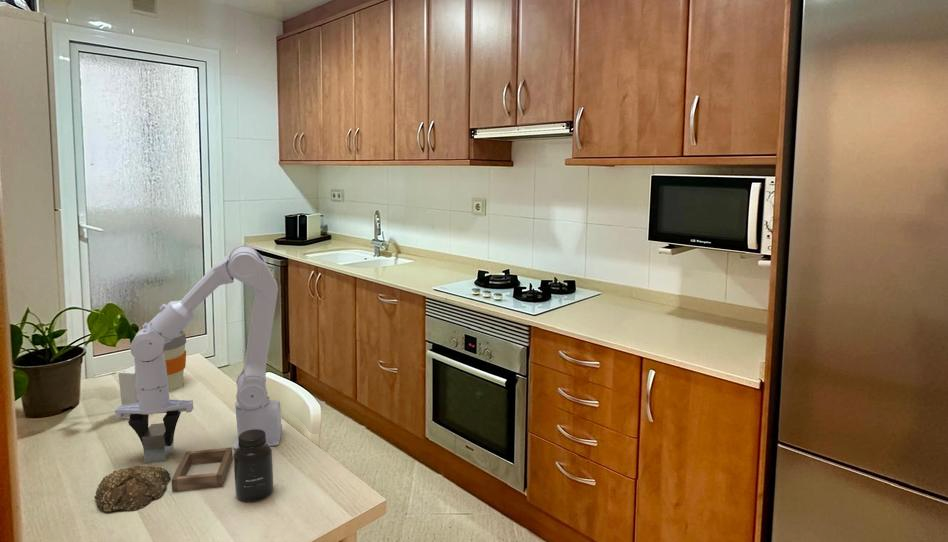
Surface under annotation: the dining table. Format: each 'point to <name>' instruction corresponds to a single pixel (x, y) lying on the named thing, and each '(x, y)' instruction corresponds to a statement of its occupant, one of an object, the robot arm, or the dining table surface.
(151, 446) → the steel bracket block
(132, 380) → the skincare box
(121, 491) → the bread roll
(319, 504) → the dining table surface
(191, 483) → the wooden frame
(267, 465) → the supplement bottle
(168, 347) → the reusable coffee cup
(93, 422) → the dining table surface
